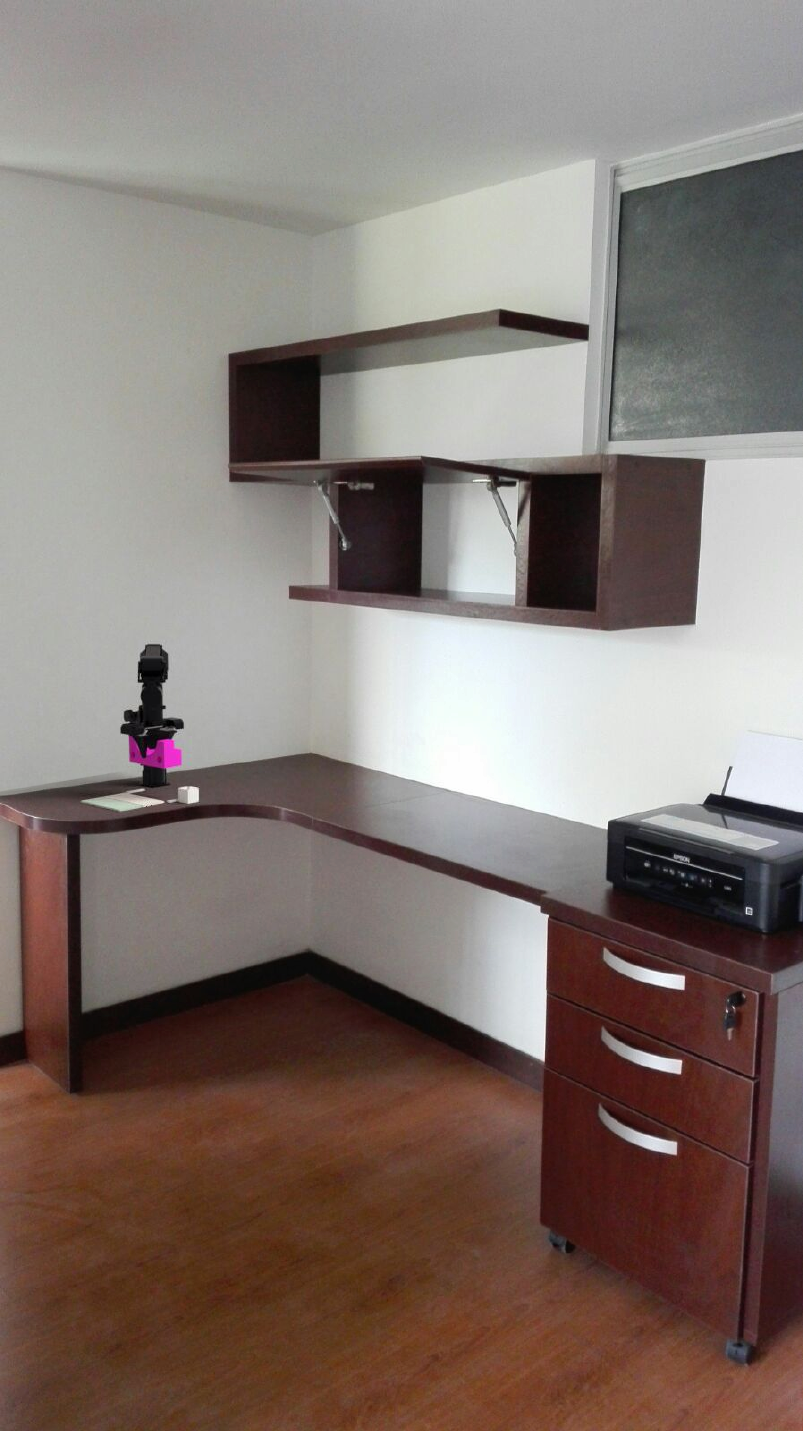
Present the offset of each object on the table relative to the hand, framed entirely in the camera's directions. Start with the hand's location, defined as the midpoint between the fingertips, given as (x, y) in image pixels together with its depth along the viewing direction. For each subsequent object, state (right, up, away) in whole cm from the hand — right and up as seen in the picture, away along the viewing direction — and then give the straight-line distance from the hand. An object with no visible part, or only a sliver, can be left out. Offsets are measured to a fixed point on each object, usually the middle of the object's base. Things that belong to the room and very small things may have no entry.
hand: (153, 756), depth 335 cm
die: (+11, -13, -4) cm, 17 cm away
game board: (-5, -12, -4) cm, 14 cm away
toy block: (+1, -2, 0) cm, 2 cm away
